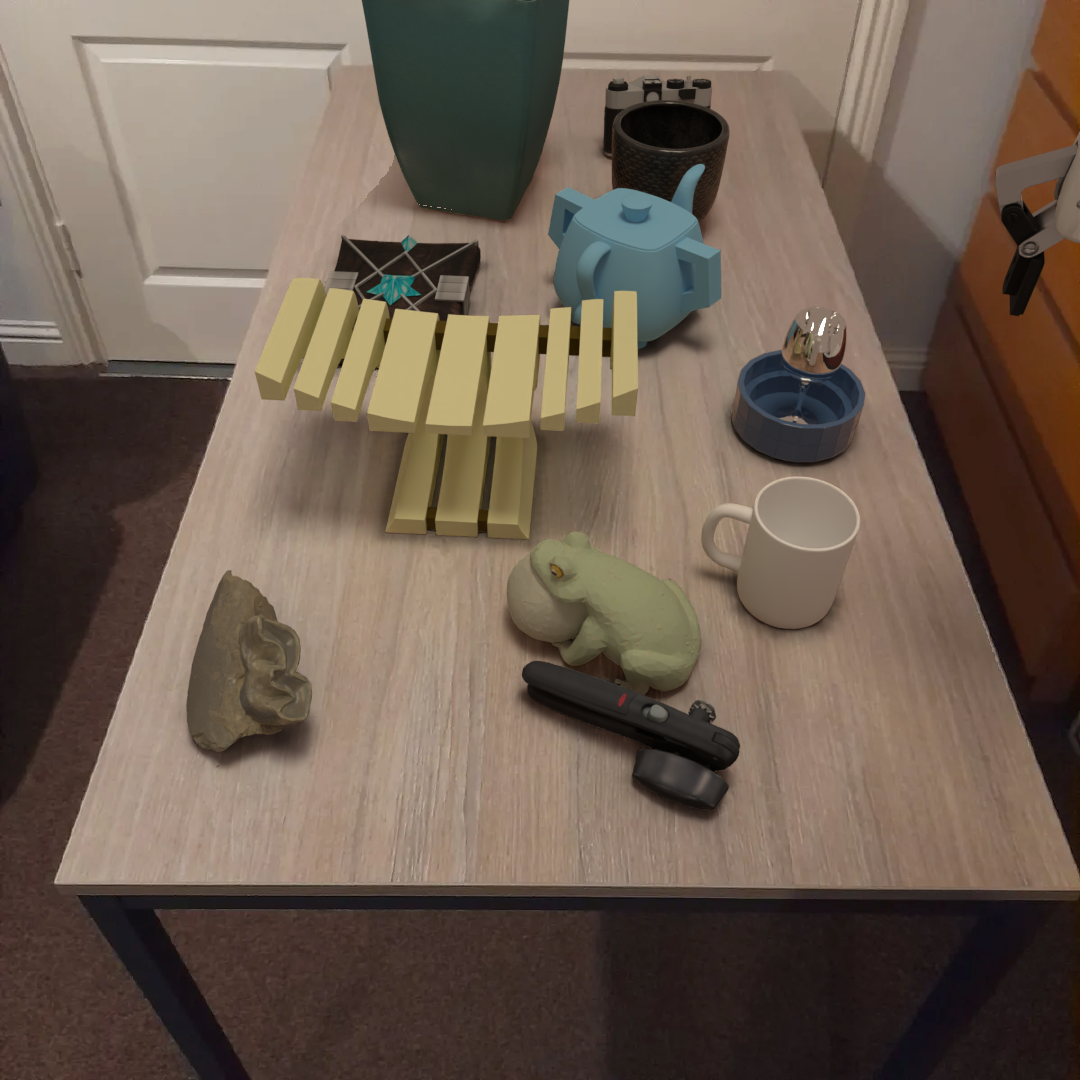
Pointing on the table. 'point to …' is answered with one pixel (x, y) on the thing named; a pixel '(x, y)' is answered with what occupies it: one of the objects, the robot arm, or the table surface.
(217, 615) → the fossil
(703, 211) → the planter
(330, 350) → the slatted curved stool
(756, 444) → the bowl
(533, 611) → the figurine
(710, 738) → the can opener
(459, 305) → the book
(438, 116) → the flower pot
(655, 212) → the teapot
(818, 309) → the wineglass
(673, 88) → the camera
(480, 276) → the table surface
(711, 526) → the cup
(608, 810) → the table surface
